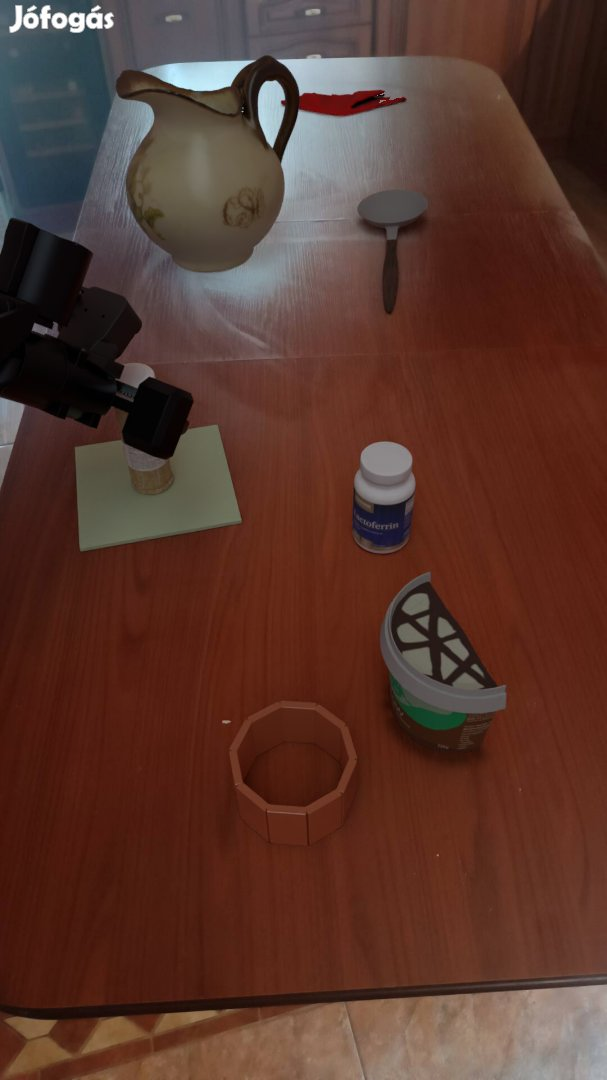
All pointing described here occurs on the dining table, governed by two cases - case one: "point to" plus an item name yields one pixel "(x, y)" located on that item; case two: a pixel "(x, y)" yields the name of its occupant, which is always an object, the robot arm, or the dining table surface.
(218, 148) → the pitcher
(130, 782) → the dining table surface
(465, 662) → the food container
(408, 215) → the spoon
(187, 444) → the placemat
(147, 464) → the sprinkles bottle
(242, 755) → the brown hollow polygonal ring
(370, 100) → the cloth
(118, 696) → the dining table surface
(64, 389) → the robot arm
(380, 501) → the pill bottle
